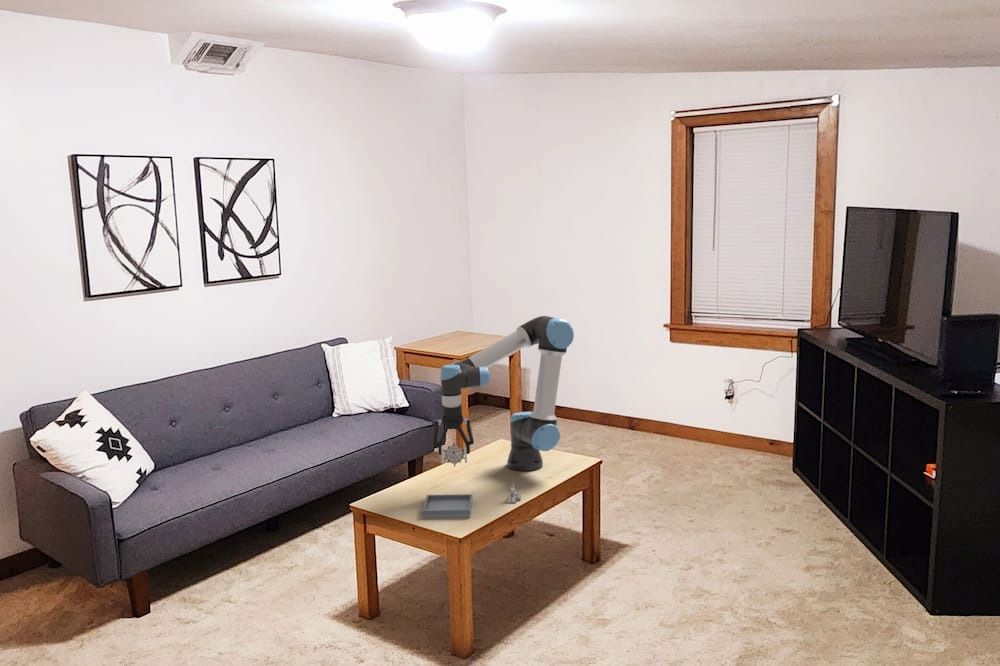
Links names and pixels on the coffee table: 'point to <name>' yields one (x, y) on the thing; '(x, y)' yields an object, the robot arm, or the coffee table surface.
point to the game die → (454, 454)
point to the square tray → (447, 506)
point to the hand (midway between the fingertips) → (454, 462)
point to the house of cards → (513, 495)
